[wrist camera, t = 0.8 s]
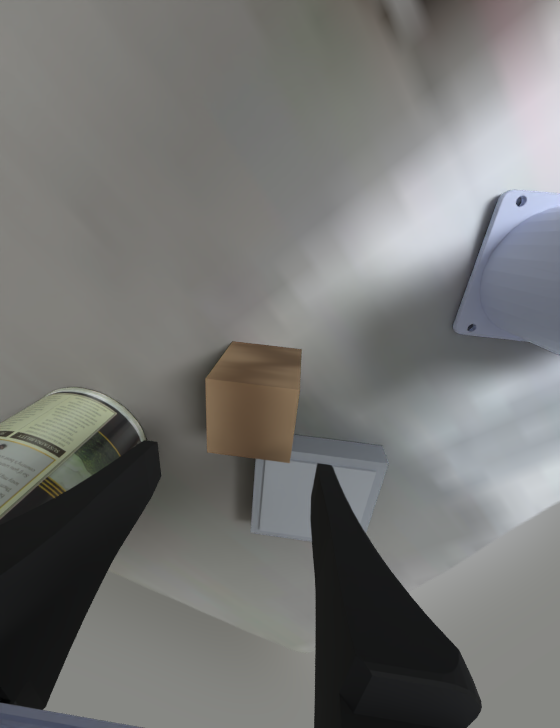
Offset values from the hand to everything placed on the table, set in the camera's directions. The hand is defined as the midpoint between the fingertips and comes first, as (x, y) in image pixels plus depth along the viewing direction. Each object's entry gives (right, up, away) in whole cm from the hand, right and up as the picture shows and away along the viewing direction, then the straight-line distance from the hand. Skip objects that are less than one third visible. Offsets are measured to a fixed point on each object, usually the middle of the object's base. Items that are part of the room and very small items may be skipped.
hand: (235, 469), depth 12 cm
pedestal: (+5, -6, +12) cm, 15 cm away
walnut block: (+1, +4, +9) cm, 10 cm away
